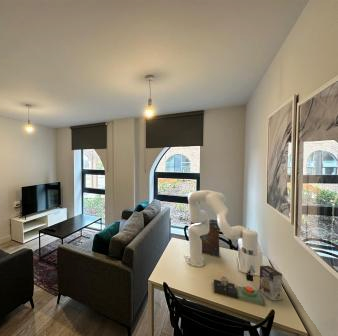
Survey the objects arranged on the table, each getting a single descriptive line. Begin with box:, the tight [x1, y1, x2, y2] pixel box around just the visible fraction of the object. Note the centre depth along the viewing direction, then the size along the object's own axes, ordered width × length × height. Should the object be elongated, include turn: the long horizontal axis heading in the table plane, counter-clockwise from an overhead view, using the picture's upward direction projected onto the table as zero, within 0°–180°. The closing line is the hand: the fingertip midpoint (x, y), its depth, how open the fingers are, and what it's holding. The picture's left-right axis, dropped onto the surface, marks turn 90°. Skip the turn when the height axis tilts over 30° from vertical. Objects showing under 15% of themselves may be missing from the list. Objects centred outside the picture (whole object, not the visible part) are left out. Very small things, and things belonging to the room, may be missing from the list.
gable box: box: [237, 227, 263, 277], centre depth 145 cm, size 22×13×28 cm, turn 149°
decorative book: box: [189, 219, 221, 258], centre depth 168 cm, size 23×7×30 cm, turn 62°
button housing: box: [235, 285, 265, 306], centre depth 115 cm, size 12×10×4 cm
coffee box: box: [259, 265, 283, 301], centre depth 115 cm, size 9×6×16 cm
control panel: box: [213, 279, 238, 299], centre depth 120 cm, size 12×10×3 cm
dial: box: [220, 275, 229, 288], centre depth 120 cm, size 4×4×5 cm
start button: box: [244, 285, 254, 293], centre depth 114 cm, size 4×4×2 cm
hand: (249, 280), depth 114 cm, fingers closed
